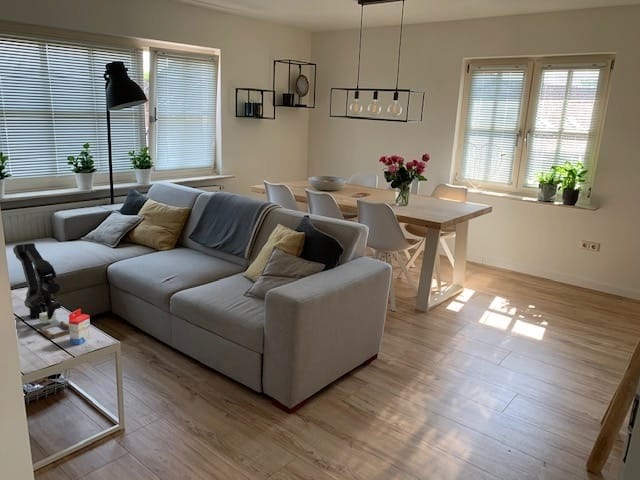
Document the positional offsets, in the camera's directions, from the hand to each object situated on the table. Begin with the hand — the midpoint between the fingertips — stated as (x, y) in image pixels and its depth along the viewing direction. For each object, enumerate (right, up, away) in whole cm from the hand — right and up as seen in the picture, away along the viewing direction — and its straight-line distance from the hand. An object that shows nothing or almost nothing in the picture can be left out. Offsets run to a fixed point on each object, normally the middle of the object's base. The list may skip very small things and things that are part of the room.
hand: (47, 318), depth 247 cm
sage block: (0, -1, 0) cm, 1 cm away
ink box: (+23, -9, -14) cm, 28 cm away
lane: (+8, -6, -6) cm, 12 cm away
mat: (0, -4, +1) cm, 4 cm away
